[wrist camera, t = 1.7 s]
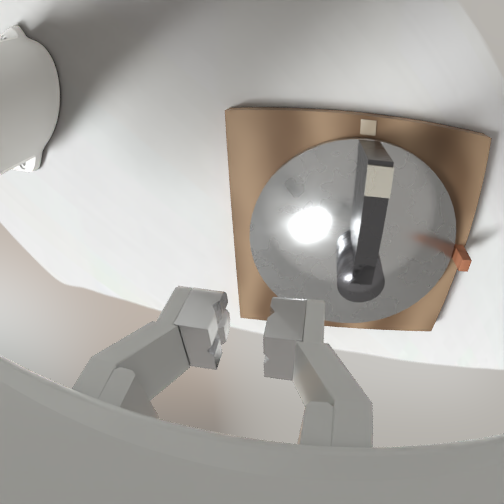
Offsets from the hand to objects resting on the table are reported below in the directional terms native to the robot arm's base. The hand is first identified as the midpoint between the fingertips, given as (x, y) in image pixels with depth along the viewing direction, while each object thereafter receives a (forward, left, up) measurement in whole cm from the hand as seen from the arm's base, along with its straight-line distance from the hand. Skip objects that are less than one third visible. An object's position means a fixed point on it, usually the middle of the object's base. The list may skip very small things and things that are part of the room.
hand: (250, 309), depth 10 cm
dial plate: (+6, -8, -19) cm, 21 cm away
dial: (+6, -8, -17) cm, 20 cm away
